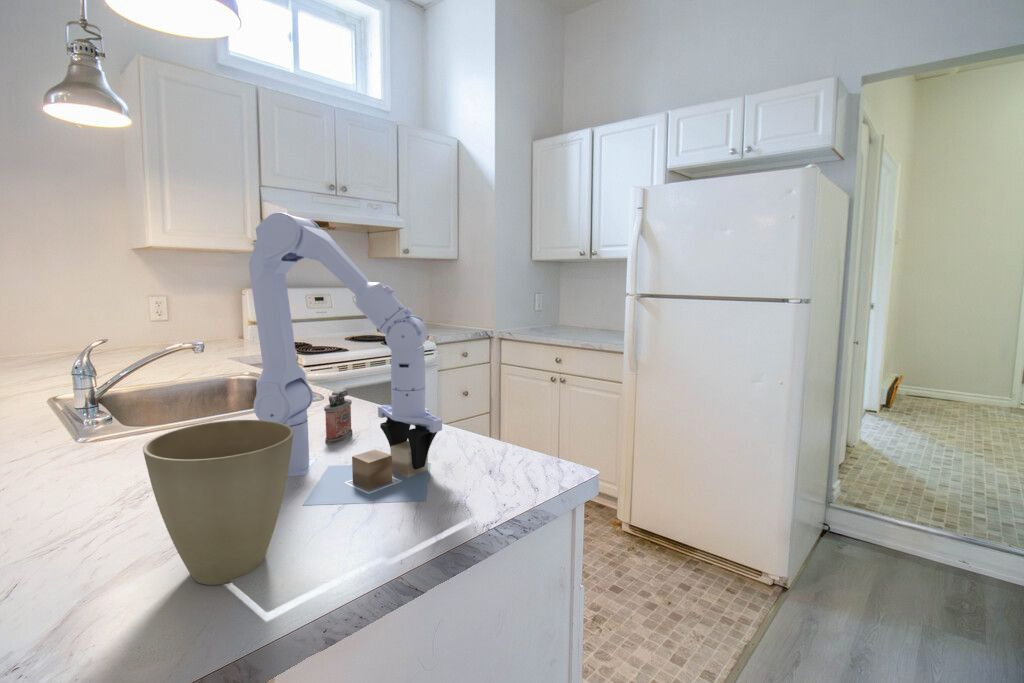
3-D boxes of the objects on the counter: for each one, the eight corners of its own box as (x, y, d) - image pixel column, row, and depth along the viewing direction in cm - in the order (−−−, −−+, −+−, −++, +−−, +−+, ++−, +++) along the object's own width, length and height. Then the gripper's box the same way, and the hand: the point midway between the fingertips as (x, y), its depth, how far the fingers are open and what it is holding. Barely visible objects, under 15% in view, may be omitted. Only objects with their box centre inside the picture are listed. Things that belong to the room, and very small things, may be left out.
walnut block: (369, 490, 82) (368, 462, 81) (352, 482, 85) (352, 456, 84) (392, 481, 85) (391, 455, 85) (375, 474, 88) (375, 449, 88)
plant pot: (180, 627, 51) (169, 471, 49) (136, 570, 60) (125, 437, 58) (321, 564, 62) (317, 435, 60) (265, 524, 72) (260, 412, 70)
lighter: (336, 444, 105) (335, 396, 104) (321, 443, 106) (319, 395, 105) (356, 433, 113) (354, 388, 112) (341, 431, 114) (340, 387, 113)
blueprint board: (302, 509, 76) (302, 504, 76) (328, 469, 92) (328, 465, 92) (425, 504, 78) (425, 500, 78) (430, 466, 94) (430, 462, 94)
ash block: (407, 477, 87) (407, 452, 86) (390, 471, 90) (390, 446, 89) (427, 470, 91) (427, 445, 90) (411, 464, 93) (410, 440, 93)
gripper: (455, 389, 87) (455, 467, 89) (399, 378, 96) (400, 449, 98) (423, 397, 81) (424, 479, 83) (367, 384, 90) (369, 459, 92)
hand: (409, 464), depth 90 cm, fingers closed on ash block, 4 cm apart
